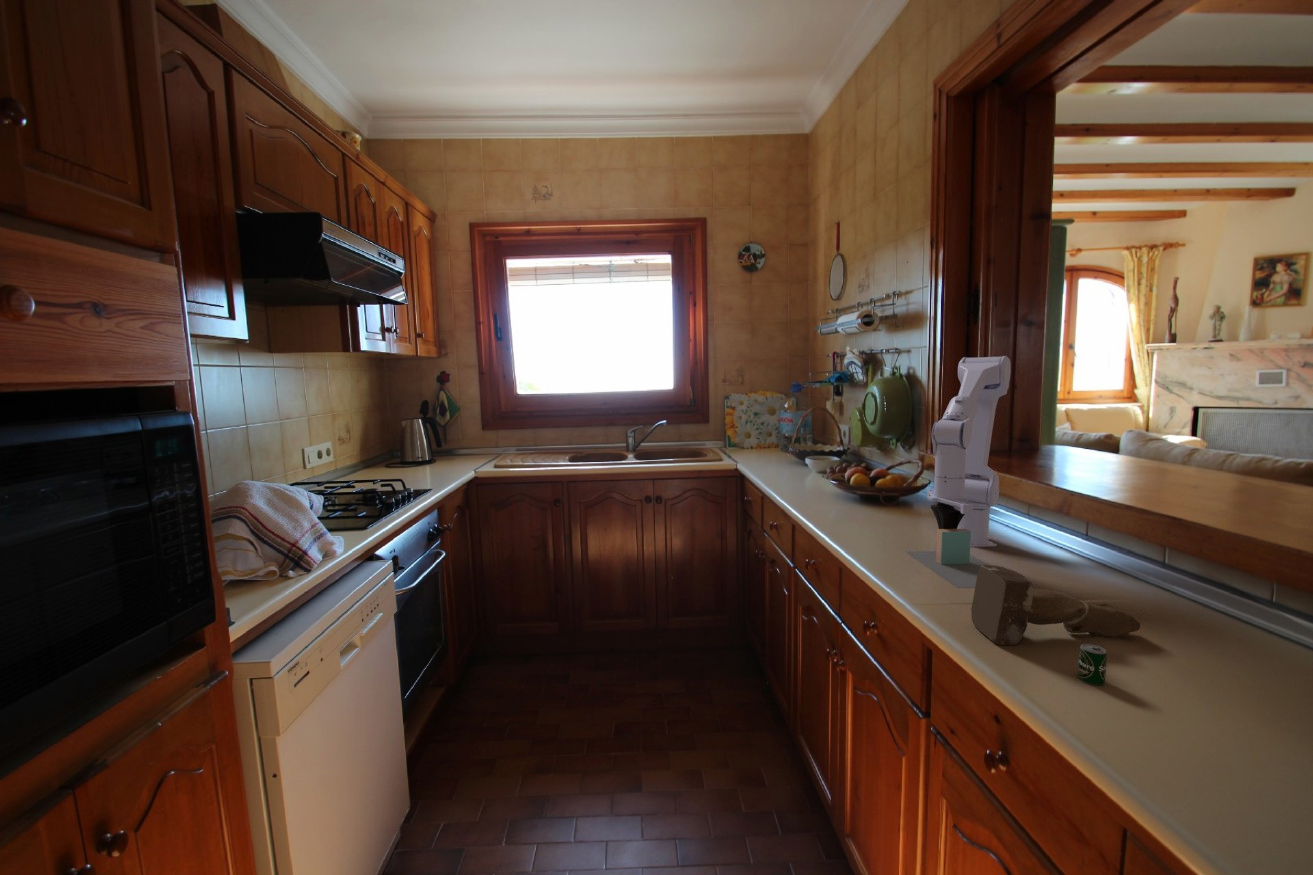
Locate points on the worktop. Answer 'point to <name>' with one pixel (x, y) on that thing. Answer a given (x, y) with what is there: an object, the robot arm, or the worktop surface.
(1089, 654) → the beer can
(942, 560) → the tile
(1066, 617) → the sculpture
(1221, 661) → the worktop surface
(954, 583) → the mat
